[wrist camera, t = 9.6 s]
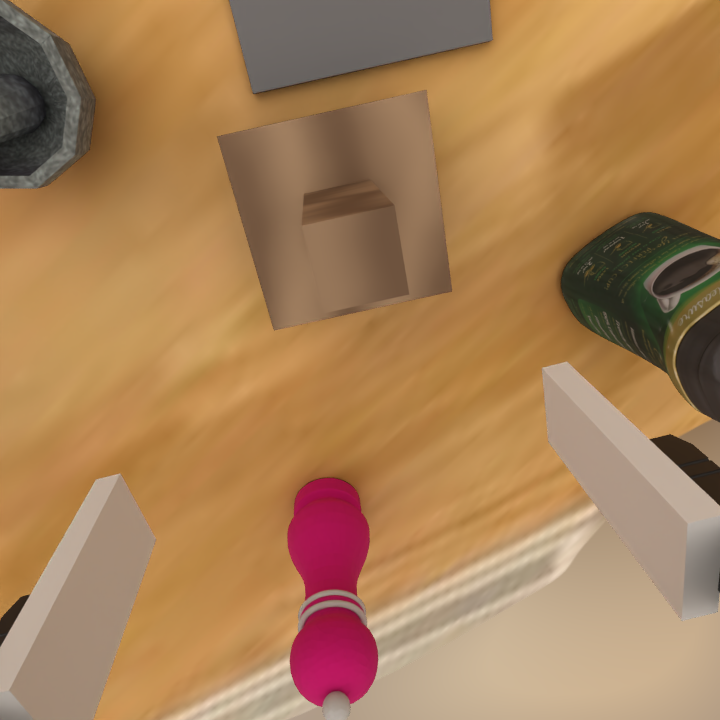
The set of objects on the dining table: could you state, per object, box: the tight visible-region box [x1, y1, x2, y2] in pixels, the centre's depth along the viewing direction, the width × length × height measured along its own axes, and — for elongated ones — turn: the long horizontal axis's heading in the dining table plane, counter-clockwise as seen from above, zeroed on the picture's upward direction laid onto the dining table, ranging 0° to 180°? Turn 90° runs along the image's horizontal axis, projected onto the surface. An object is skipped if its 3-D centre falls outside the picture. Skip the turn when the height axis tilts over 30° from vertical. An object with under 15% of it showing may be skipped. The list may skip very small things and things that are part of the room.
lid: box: [217, 90, 452, 330], centre depth 28 cm, size 12×12×11 cm
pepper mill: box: [288, 478, 378, 720], centre depth 41 cm, size 7×7×20 cm
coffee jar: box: [561, 212, 720, 422], centre depth 34 cm, size 10×8×19 cm
